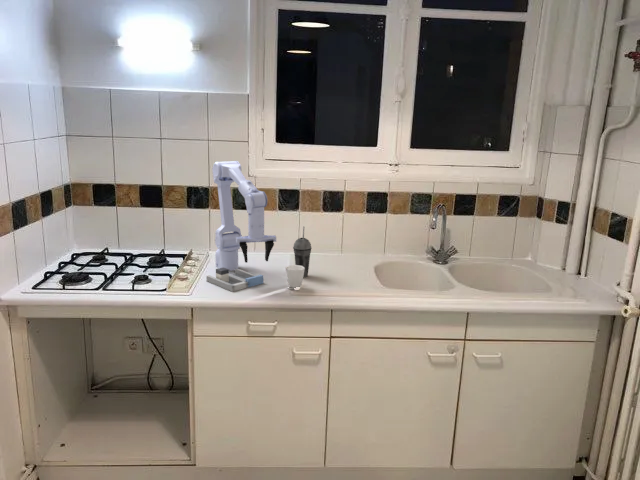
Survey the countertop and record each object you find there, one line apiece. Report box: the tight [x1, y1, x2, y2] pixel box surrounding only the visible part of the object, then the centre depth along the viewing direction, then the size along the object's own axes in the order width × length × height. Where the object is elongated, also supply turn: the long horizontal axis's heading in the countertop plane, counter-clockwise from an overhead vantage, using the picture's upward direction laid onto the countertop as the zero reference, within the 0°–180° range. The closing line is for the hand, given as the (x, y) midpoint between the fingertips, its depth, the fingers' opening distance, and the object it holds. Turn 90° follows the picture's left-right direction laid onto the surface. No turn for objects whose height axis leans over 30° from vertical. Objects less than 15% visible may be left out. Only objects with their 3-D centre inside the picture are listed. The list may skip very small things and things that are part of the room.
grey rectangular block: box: [215, 267, 230, 283], centre depth 198 cm, size 3×3×5 cm
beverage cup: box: [292, 226, 312, 278], centre depth 209 cm, size 7×7×20 cm
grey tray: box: [205, 267, 265, 293], centre depth 199 cm, size 16×15×4 cm
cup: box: [285, 264, 305, 291], centre depth 198 cm, size 7×10×8 cm
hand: (256, 261), depth 196 cm, fingers open, 7 cm apart
